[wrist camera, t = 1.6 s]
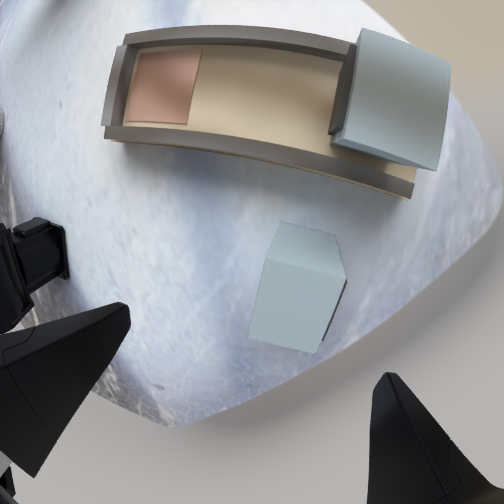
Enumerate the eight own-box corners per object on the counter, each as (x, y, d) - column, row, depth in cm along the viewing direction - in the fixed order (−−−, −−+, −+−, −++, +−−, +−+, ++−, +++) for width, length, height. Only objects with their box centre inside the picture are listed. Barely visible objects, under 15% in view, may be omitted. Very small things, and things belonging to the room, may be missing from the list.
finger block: (319, 295, 21) (320, 355, 14) (266, 282, 21) (246, 337, 15) (338, 235, 19) (352, 279, 12) (280, 220, 19) (265, 257, 13)
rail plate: (401, 197, 17) (458, 232, 9) (122, 140, 19) (42, 147, 11) (423, 82, 13) (485, 50, 5) (142, 42, 16) (72, 13, 8)
